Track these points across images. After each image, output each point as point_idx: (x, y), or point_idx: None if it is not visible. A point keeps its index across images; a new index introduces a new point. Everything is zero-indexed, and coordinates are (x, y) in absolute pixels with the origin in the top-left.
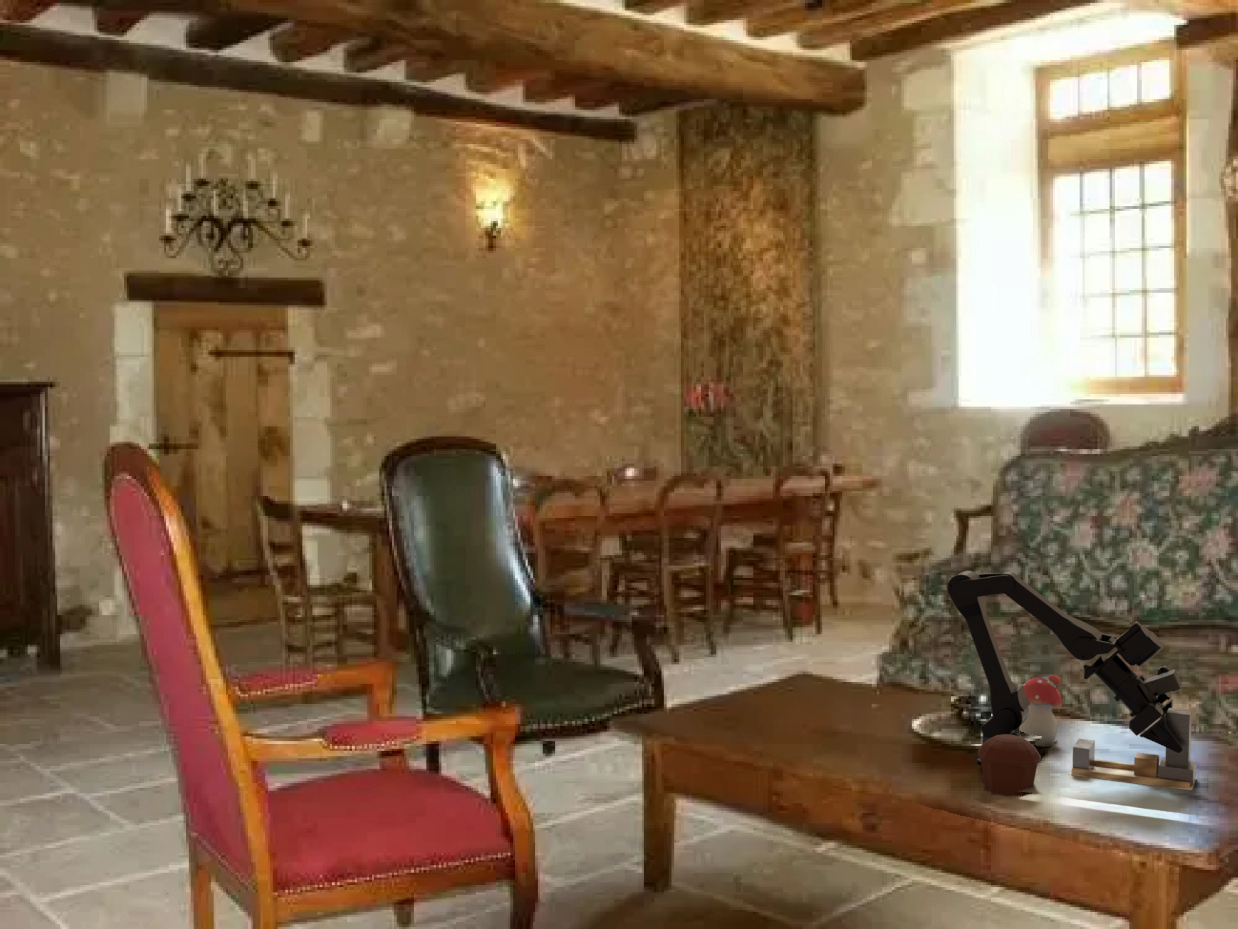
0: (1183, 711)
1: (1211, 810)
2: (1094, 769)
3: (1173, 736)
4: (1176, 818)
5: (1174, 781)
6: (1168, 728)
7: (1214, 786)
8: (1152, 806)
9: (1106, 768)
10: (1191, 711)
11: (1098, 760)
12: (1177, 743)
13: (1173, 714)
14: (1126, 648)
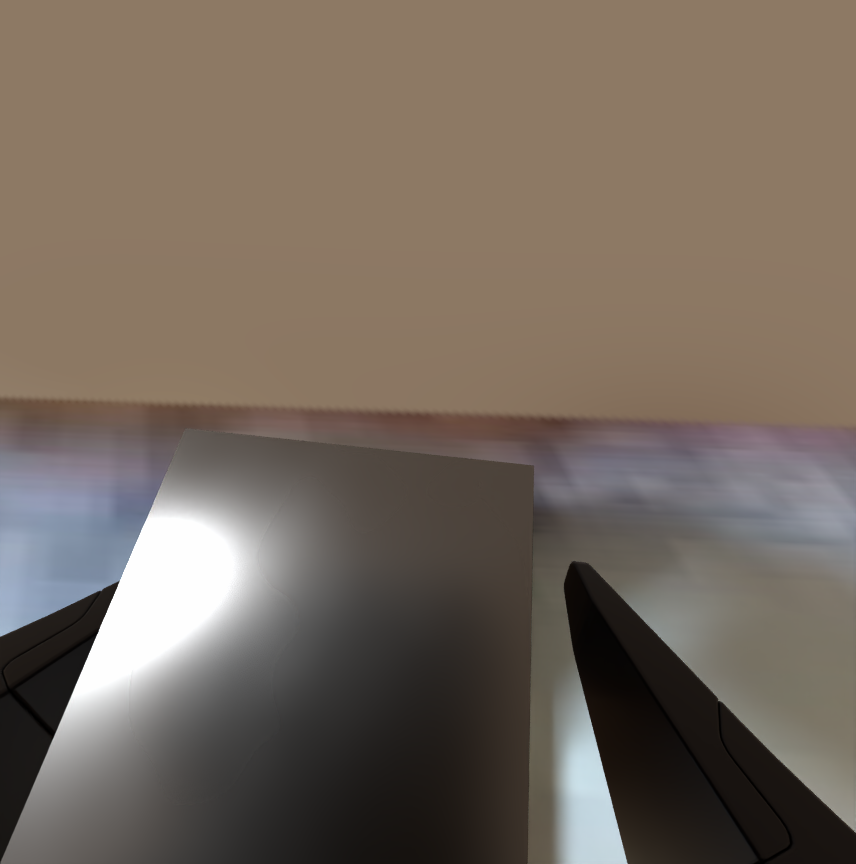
0: (297, 567)
1: (656, 466)
2: None
3: (681, 674)
4: (843, 589)
5: None
6: (750, 802)
7: (375, 447)
8: (739, 684)
9: None
10: (221, 435)
11: None
12: (634, 613)
13: (527, 816)
14: None
